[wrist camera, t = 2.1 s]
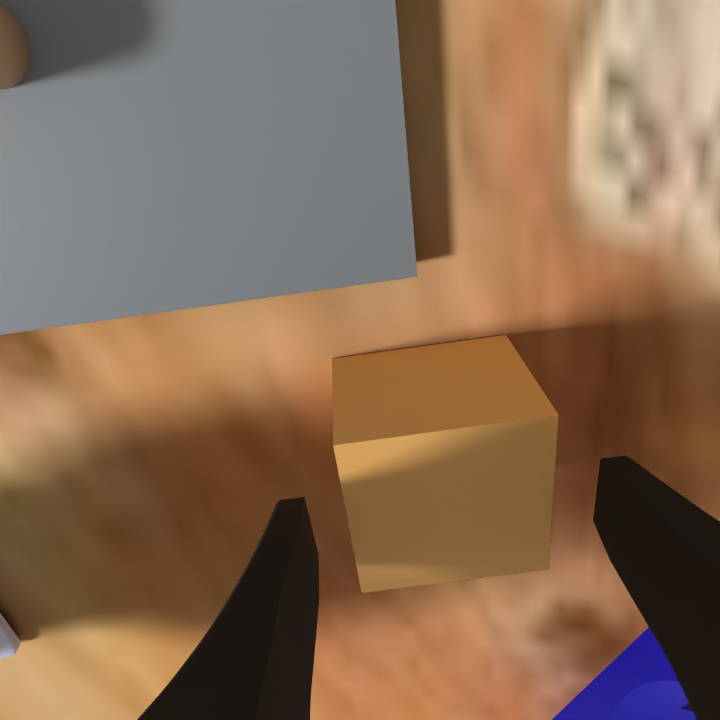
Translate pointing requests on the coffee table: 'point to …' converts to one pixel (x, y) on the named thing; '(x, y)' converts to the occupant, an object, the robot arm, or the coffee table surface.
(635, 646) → the cable clip
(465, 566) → the cardboard carton
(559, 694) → the coffee table surface
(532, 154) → the coffee table surface
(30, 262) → the plate
